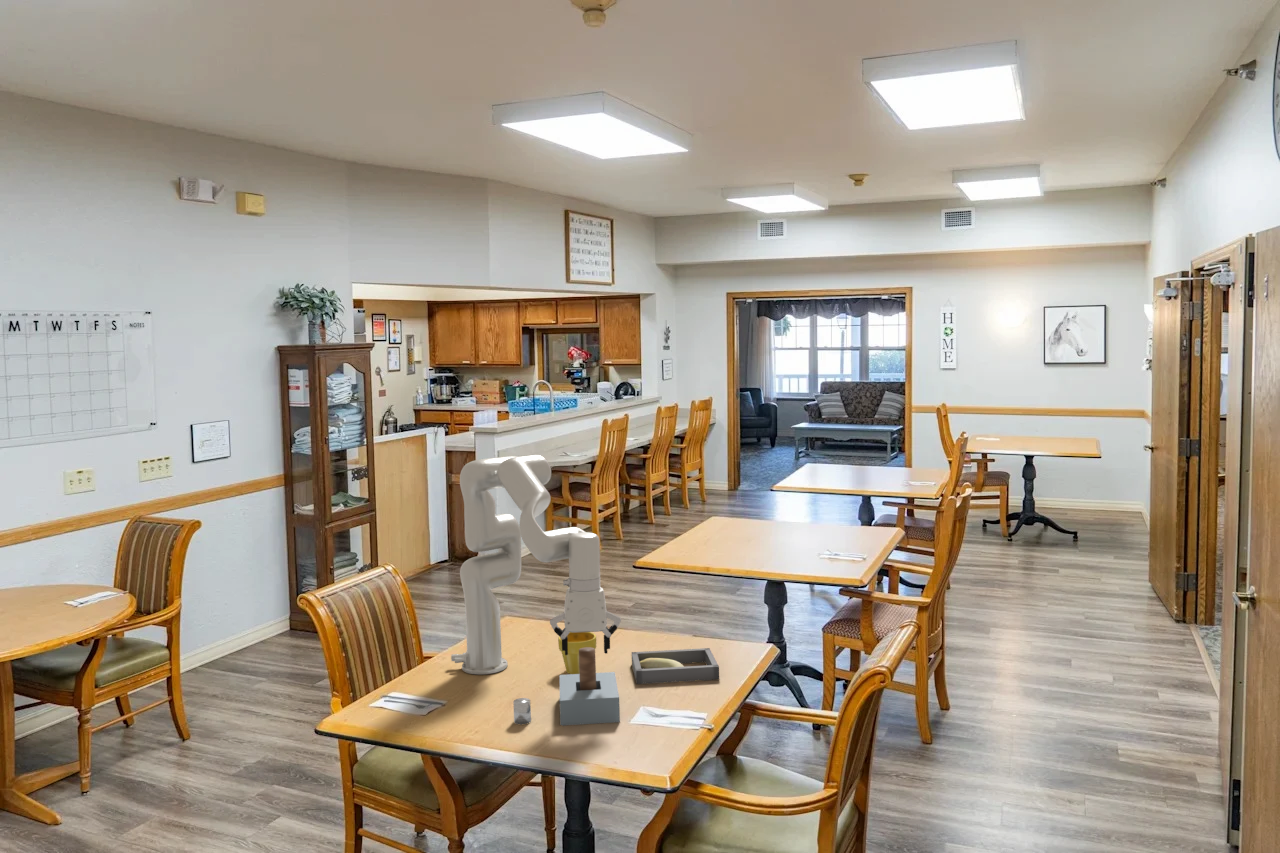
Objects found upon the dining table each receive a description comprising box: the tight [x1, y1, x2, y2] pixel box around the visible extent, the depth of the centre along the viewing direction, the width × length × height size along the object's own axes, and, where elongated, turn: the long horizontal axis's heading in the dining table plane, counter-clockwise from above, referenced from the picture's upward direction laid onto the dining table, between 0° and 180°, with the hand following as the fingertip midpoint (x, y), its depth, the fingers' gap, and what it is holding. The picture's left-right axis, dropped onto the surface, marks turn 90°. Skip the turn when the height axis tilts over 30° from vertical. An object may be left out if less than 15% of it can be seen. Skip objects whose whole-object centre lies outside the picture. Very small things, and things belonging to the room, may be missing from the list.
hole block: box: [559, 671, 621, 726], centre depth 232 cm, size 14×18×6 cm
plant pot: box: [558, 632, 597, 674], centre depth 261 cm, size 10×10×10 cm
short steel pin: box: [512, 697, 532, 726], centre depth 226 cm, size 4×4×5 cm
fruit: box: [640, 658, 685, 669], centre depth 259 cm, size 7×15×3 cm, turn 43°
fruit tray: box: [631, 647, 720, 685], centre depth 258 cm, size 22×16×4 cm
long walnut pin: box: [579, 647, 597, 691], centre depth 232 cm, size 4×4×15 cm
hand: (586, 652), depth 232 cm, fingers open, 9 cm apart
